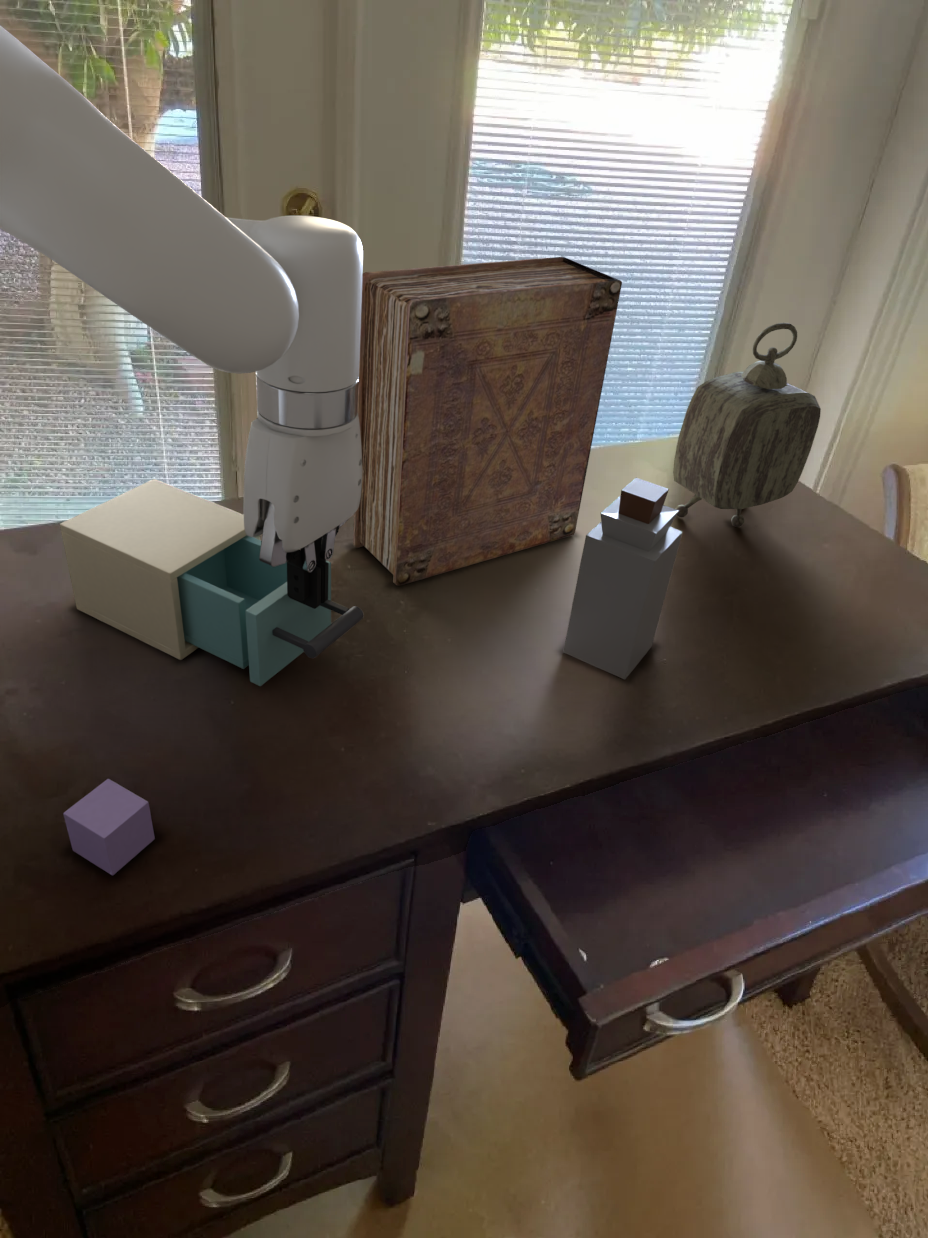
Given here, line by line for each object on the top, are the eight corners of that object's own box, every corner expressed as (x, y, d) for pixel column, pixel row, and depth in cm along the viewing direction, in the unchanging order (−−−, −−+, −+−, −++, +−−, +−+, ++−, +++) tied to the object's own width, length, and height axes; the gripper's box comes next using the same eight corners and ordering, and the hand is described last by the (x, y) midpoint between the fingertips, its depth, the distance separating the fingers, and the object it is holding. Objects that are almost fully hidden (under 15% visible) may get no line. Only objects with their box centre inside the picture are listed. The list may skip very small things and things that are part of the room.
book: (393, 587, 95) (407, 301, 77) (352, 546, 101) (357, 272, 83) (575, 535, 107) (623, 278, 90) (529, 501, 113) (566, 254, 96)
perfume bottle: (651, 646, 90) (694, 488, 80) (625, 679, 85) (666, 516, 75) (592, 621, 93) (626, 464, 82) (563, 652, 88) (594, 490, 78)
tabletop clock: (738, 493, 120) (795, 306, 106) (789, 524, 114) (857, 331, 100) (659, 513, 113) (708, 317, 99) (709, 548, 108) (769, 344, 93)
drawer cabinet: (263, 602, 90) (259, 520, 85) (180, 660, 82) (169, 573, 76) (164, 558, 95) (154, 478, 89) (76, 609, 87) (58, 523, 81)
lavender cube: (112, 876, 62) (104, 838, 60) (72, 850, 64) (62, 813, 61) (155, 839, 65) (148, 801, 63) (115, 815, 67) (108, 778, 64)
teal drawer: (372, 648, 84) (375, 580, 80) (304, 708, 77) (303, 636, 72) (231, 586, 91) (226, 519, 86) (155, 635, 83) (145, 565, 78)
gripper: (327, 360, 73) (325, 550, 84) (198, 412, 62) (214, 623, 73) (403, 384, 71) (391, 577, 81) (283, 443, 60) (286, 658, 70)
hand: (307, 598), depth 77 cm, fingers closed
